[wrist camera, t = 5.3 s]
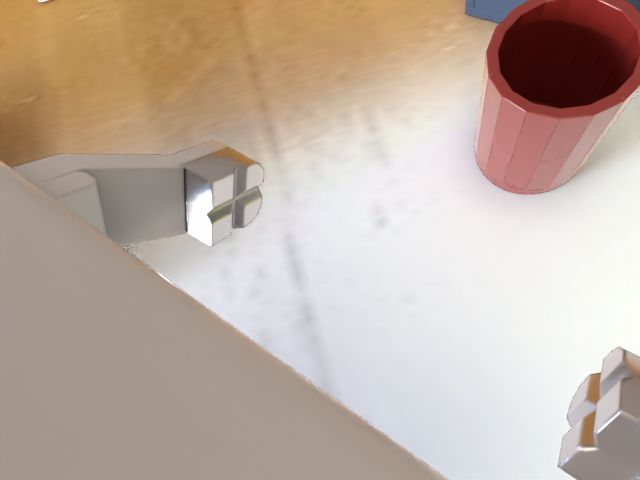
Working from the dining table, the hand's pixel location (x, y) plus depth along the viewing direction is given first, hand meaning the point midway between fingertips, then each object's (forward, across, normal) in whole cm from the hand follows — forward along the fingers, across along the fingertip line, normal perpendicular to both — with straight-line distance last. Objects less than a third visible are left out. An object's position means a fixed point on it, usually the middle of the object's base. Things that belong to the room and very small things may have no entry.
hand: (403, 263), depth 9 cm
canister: (+21, 0, +4) cm, 21 cm away
